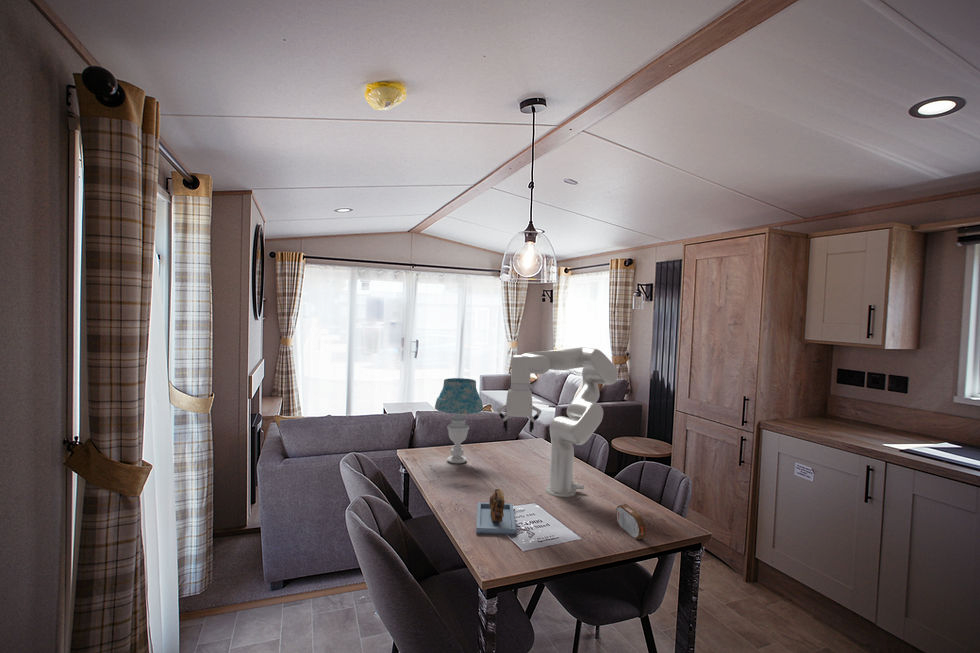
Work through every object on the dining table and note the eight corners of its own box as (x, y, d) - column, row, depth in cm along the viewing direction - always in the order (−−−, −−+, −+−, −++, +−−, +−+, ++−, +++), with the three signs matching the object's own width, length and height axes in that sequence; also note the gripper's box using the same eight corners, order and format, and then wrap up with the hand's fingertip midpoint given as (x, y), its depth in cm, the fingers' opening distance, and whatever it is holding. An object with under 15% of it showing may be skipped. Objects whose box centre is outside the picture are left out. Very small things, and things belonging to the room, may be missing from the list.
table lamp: (484, 455, 241) (487, 378, 240) (476, 470, 217) (479, 385, 216) (439, 451, 244) (442, 376, 243) (426, 465, 221) (430, 382, 220)
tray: (512, 508, 176) (512, 503, 176) (515, 535, 154) (516, 529, 154) (477, 507, 176) (477, 502, 175) (476, 533, 154) (476, 527, 154)
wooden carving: (484, 509, 172) (485, 483, 172) (496, 509, 173) (497, 482, 173) (494, 530, 156) (495, 500, 156) (507, 529, 157) (508, 500, 157)
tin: (646, 543, 153) (647, 518, 152) (638, 544, 152) (639, 519, 151) (621, 523, 167) (622, 500, 167) (613, 524, 166) (615, 500, 166)
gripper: (541, 386, 184) (539, 429, 184) (497, 384, 184) (495, 427, 184) (543, 389, 176) (541, 434, 177) (498, 387, 176) (496, 432, 177)
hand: (518, 431), depth 180 cm, fingers open, 9 cm apart
